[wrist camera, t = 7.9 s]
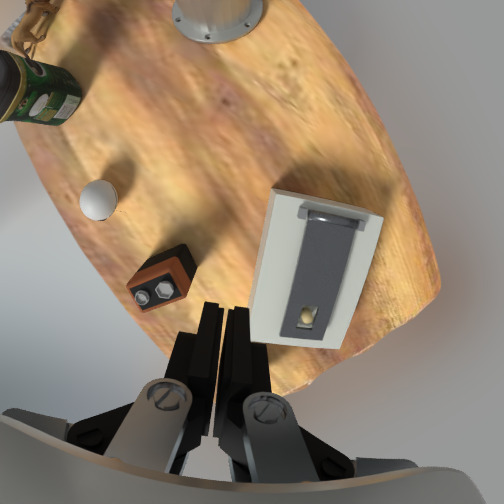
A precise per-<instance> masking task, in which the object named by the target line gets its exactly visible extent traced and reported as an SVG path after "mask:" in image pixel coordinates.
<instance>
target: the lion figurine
mask: <svg viewBox="0 0 504 504" xmlns="http://www.w3.org/2000/svg"><path fill="white" fill-rule="evenodd" d="M25 1H26V2H25V4H26V5H27V10H26V13H25V15H24V17H23V19H22V20H21V22H20V24H19V25H18V26H17V27H16V28H15V30H14V31H13V33H12V36H11V41H12V45H13V47H14V48H15V49H16V50H17V51H18V52H19V53H21V54H23V55H24V56H25V57H26V58H27V59H30V58H29V56H28V55H27V54H28V52H29V50H30V49H29V48H27V49H26V50H24V42H32V43H33V44H35V43H38V42H41V41H43V40H44V39H45V35H42V36H41V37H40V38H39V39H37V38H35V37H34V35H33V33H31V32H30V30H31V29H32V28H33V27H34V26H35V25H36V24H37V22H38V21H39V20H40V18H41V16H43V17H45V16H47V15H48V13H49V11H50V12H51V13H55V12H57V11H58V10H59V7H55V8H54V7H53V6H52V4H50V3H49V1H50V0H25ZM47 10H48V11H47Z"/></svg>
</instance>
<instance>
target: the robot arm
mask: <svg viewBox="0 0 504 504" xmlns="http://www.w3.org/2000/svg"><path fill="white" fill-rule="evenodd" d="M262 12H263V1H262V0H175V2H174V4H173V8H172V19H173V23H174V25H175V27H176V28H177V30H178V31H179V32H180V33H181V34H182V35H184V36H185V37H186V38H188V39H190V40H192V41H195V42H199V43H204V44H221V43H227V42H230V41H234V40H237V39H239V38H241V37H243V36H245V35H246V34H248V33H249V32H250V31H251V30H253V29H254V28H255V27H256V25H257V24H258V22H259V21H260V19H261V16H262ZM179 21H180V22H179ZM246 26H249V27H246ZM207 38H210V39H208V40H207ZM223 315H224V308H219V304H218V303H212V302H206V301H205V303H204V307H203V311H202V315H201V319H200V323H199V328H198V332H197V334H192V333H186V332H181V331H179V333H178V335H177V338H176V341H175V344H174V348H173V351H172V354H171V357H170V360H169V363H168V366H167V370H166V373H165V377H164V378H159V379H155V380H152V381H151V382H149V383H147V384H146V385H145V386H144V388H143V389H142V391H141V392H140V394H139V396H138V398H137V399H136V401H135V402H133V403H130V404H127V405H125V406H122V407H119V408H116V409H114V410H111V411H108V412H105V413H102V414H99V415H96V416H93V417H90V418H88V419H84V420H81V421H79V422H77V423H75V424H71V423H68V421H67V420H65V419H60V418H55V417H50V416H46V415H41V414H37V413H33V412H29V411H26V410H22V409H18V408H11V409H7V410H6V411H4V412H3V413H2V414H0V504H486V502H485V500H484V499H483V497H482V495H481V493H480V491H479V490H478V488H477V486H476V485H475V483H474V482H473V481H472V480H471V479H470V477H469V476H468V475H466V474H465V473H464V472H462V471H459V470H456V469H453V468H447V467H418V466H417V465H416V464H415V463H414V462H412V461H410V460H407V459H376V458H359V457H356V458H355V459H354V460H350V459H349V458H348V457H347V456H345V455H344V454H342V453H340V452H339V451H337V450H336V449H334V448H333V447H331V446H329V445H328V444H326V443H324V442H323V441H321V440H320V439H318V438H317V437H315V436H314V435H312V434H311V433H309V432H308V431H306V430H305V429H303V428H302V427H300V426H299V425H298V423H297V420H296V418H295V415H294V412H293V410H292V407H291V406H290V404H289V402H287V401H286V400H285V399H284V398H283V397H281V396H279V395H277V394H274V393H272V391H271V382H270V373H269V364H268V355H267V347H266V344H261V343H252V342H251V337H250V311H249V308H244V307H238V306H235V307H234V310H232V309H229V310H228V316H227V322H226V328H225V334H224V340H223V346H222V352H221V358H220V365H219V374H218V385H217V395H216V407H215V418H214V430H213V437H218V438H219V444H218V446H220V448H221V449H222V450H223V451H224V452H225V453H227V454H228V455H229V467H230V473H231V478H232V482H226V481H216V480H207V479H200V478H193V477H186V476H182V473H183V470H184V467H185V464H186V462H187V459H188V456H189V451H191V450H192V449H194V448H196V447H198V446H200V443H201V435H202V436H208V432H209V425H210V419H211V412H212V406H213V399H214V392H215V386H216V379H217V370H218V360H219V351H220V341H221V332H222V323H223Z"/></svg>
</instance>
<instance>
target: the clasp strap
mask: <svg viewBox="0 0 504 504" xmlns="http://www.w3.org/2000/svg"><path fill="white" fill-rule="evenodd" d="M357 225H358V220H357V219H353V218H349V217H344V216H340V215H335V214H330V213H326V212H321V211H316V210H311V209H309V210H308V213H307V220H306V225H305V229H304V234H303V238H302V243H301V247H300V252H299V256H298V260H297V264H296V269H295V273H294V277H293V281H292V285H291V289H290V293H289V297H288V301H287V305H286V309H285V313H284V317H283V321H282V324H281V328H280V332H279V337H287V338H297V339H308V340H320V341H322V340H323V337H324V334H325V332H326V329H327V326H328V323H329V320H330V317H331V314H332V310H333V307H334V304H335V301H336V298H337V294H338V291H339V288H340V284H341V281H342V278H343V274H344V271H345V267H346V264H347V260H348V256H349V252H350V249H351V245H352V241H353V237H354V233H355V229H356V228H357ZM303 305H308V306H316V307H318V308H317V311H316V314H315V317H314V321H313V324H312V327H311V328H307V327H298V326H297V324H298V321H299V317H300V314H301V310H302V307H303Z"/></svg>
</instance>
